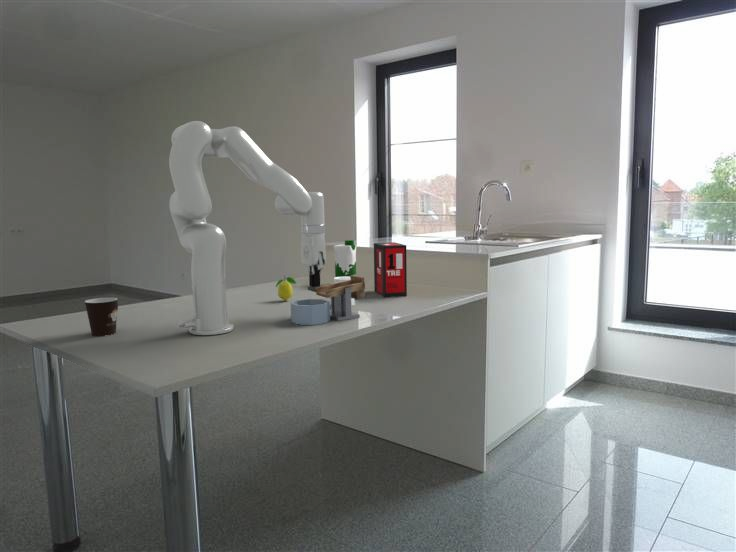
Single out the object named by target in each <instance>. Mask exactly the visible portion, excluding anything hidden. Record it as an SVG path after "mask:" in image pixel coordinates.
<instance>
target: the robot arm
mask: <svg viewBox="0 0 736 552" xmlns="http://www.w3.org/2000/svg"><path fill="white" fill-rule="evenodd" d="M170 140H171V144H172V146H171V148H170V152H169V156H168V157H169V158H168V159H169V160H168V164H169V165H168V166H169V171H170V175H171V179H172V183H173V187H174V192H173V193H172V194H171V195H170V198H169V205H168V206H169V211H170V215H171V218H172V222H173V224H174V227H175V231H176V234H177V237H178V239H179V240H178V241H179V242H180V245H181V246H182V248H183V249H184V250H185V251H187V252H188V253H189V254H192V256H191V265H190V266H191V275H190V276H191V287H192V301H193V302H192V303H193V315H191V317H190V318H189V319H188V320H177V323H176V324H177V325H176V326H177V328H178V329H179V328H184V329H185V328H189V330H188V331H189V333H190V334H192V335H195V336H214V335H221V334H226V333H229V332H233V330H234V324H233V323H230V322H229V320H228V319H229V317H228V299H227V298H228V297H227V281H226V280H227V279H226V278H227V277H226V253H227V239H226V235H225V232H224V231H223V230H222V229H221V228H220V227H219V226H217V225H215V224H213V223H208V222H207V219H206V218H207V217H208V216H209V215H210V214H211V212H212V209H213V208H212V207H213V204H212V203H213V202H212V199H211V196H210V193H209V190H208V187H207V182H206V180H205V177H204V172H203V168H202V162H203V161H202V160H203V157H204V158H221V159H222V158H229V159H230V161H232V162H233V163H234V164H235V166H237V168H239V169H240V170H241V171H242V173H244V175H245V176H246V177H247V178H248V179H249V180H251V181H252V182H253V183H255V184H257V185H258V186H262V187H265V188H267V189H269V190H271V191H272V192H274V193H275V194H276V195H277V196H276V197H275V198H276V199H275V201H274V207H275V209H276V211H277V212H278V213H280V214H281V215H283V216H289V217H290V216H298V217H300V220H301V221H300V223H301V240H300V241H301V243H300V262H301V264H302V265H305V266H306V268H307V271H308V276H309V277H308V280H309V286H312V287H314V286H321V273H322V271H321V270H324V265H325V264H326V263H327V262H326V261H327V251H326V250H327V249H326V241H325V239H326V238H325V234H326V230H325V228H326V227H325V226H326V224H325V198H324V194H323V193H322V192H319V191H309V192H308V191H307V190H306V189H305V188H304V186H303V185H302V184H301V183H300V182H299V181H298V180H297V179H296V178H295V177H294V176H293V175H292V174H290V173H289V172H287V170H284V169H283V168H282V167H280V166H279V165H278V164H276V163H275V162H274V161H272V160H271V159H270V158H269V157H268V156H267V155H266V154H265V152H264V151H262V149H261V148H260V147H259V146H258V144H256V142H255V141H254V140H253V139H252V138H251V137H250V135H248V134H247V133H246V131H244V129H242V128H241V127H239V126H235V125H234V126H227V127H223V128H218V129H217V128H210V126H209V125H208V124H207V123H206V122H204V121H200V120H193V121H189V122H186V123H185V124H182V125H180V126H178V127H176V128H175V129H174V130H173V132H172V134H171V139H170Z"/></svg>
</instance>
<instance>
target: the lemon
mask: <svg viewBox="0 0 736 552" xmlns="http://www.w3.org/2000/svg"><path fill="white" fill-rule="evenodd" d="M283 276H284V278H283V279H280V280H278V281H277V283H276V285H275V288H277V287H278V288H277V294H278V295H277V296H278V297H279V299H282V300H284V301H285V302H287V300H289V299H291V298H292V296H293V293H294V292H293V287H292V285H296V284H297V282H296V280H295V279H294V278H293V277H286V276H285V275H283ZM291 284H292V285H291Z"/></svg>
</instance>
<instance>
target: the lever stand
mask: <svg viewBox="0 0 736 552" xmlns="http://www.w3.org/2000/svg"><path fill="white" fill-rule="evenodd" d="M330 305H331V306H330V320H334V321H338V322H339V321H340V322H341V321H345V320H346V321H347V320H353V319H354V320H355V319H359V318H360V314H359V313H355V312H352V306H351V288H344V294H342V295H338V296H333V297H330Z"/></svg>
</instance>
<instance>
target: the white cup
mask: <svg viewBox="0 0 736 552" xmlns="http://www.w3.org/2000/svg"><path fill="white" fill-rule="evenodd" d="M348 280H351V278H350V276H342V277H333V284H335V283H339V282H344V281H348ZM355 300H356V299H354V298H351V307H353V306H355V304H356V302H355Z"/></svg>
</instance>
